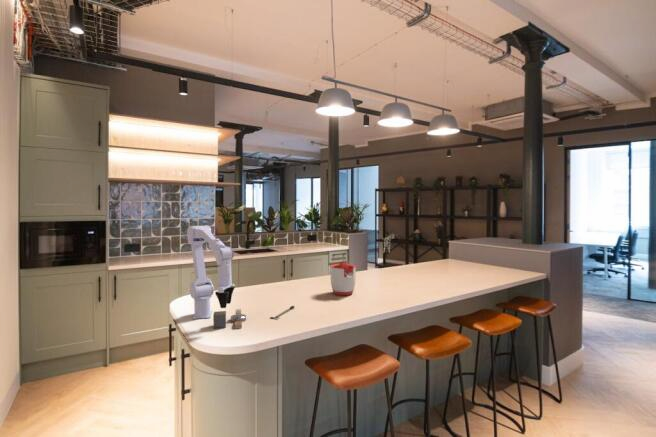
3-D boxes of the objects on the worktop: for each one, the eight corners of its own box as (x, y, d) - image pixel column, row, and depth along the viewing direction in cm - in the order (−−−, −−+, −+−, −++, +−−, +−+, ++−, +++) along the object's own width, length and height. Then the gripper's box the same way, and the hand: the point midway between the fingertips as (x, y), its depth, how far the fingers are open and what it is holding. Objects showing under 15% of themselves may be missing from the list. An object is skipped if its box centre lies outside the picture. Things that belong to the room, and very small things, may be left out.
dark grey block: (214, 324, 163) (214, 311, 163) (226, 324, 164) (225, 311, 164) (213, 328, 158) (213, 315, 158) (225, 327, 159) (225, 314, 159)
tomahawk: (281, 322, 169) (281, 320, 169) (269, 319, 172) (269, 317, 172) (302, 309, 189) (302, 307, 188) (291, 307, 191) (291, 305, 191)
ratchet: (230, 318, 173) (230, 308, 172) (245, 317, 174) (245, 307, 174) (230, 329, 158) (229, 318, 157) (246, 328, 159) (246, 317, 159)
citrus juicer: (338, 298, 209) (338, 264, 208) (326, 291, 224) (326, 259, 224) (362, 295, 215) (362, 262, 214) (348, 289, 231) (348, 258, 230)
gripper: (229, 277, 152) (230, 309, 152) (237, 271, 166) (238, 301, 167) (212, 278, 152) (213, 310, 152) (222, 272, 166) (223, 301, 167)
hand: (225, 305), depth 159 cm, fingers open, 7 cm apart
